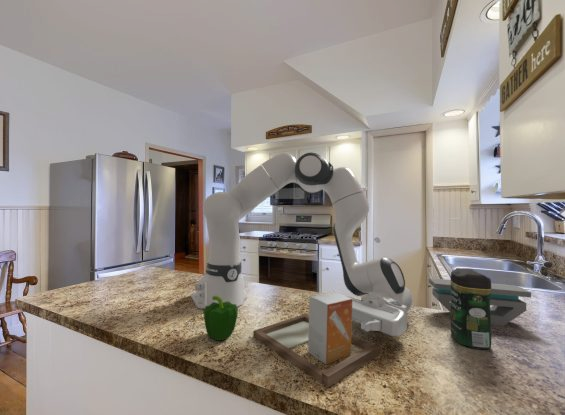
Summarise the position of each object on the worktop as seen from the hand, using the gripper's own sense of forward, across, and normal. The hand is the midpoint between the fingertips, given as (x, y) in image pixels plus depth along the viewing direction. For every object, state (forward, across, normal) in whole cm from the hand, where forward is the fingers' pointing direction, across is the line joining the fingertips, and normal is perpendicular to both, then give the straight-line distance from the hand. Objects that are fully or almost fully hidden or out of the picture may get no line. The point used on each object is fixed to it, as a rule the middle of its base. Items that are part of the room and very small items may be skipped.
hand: (346, 320), depth 64 cm
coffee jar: (-27, +19, +6) cm, 34 cm away
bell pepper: (+23, -23, +6) cm, 33 cm away
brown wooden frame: (+7, -5, +6) cm, 10 cm away
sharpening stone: (-47, +15, +6) cm, 50 cm away
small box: (+7, 0, +6) cm, 9 cm away
